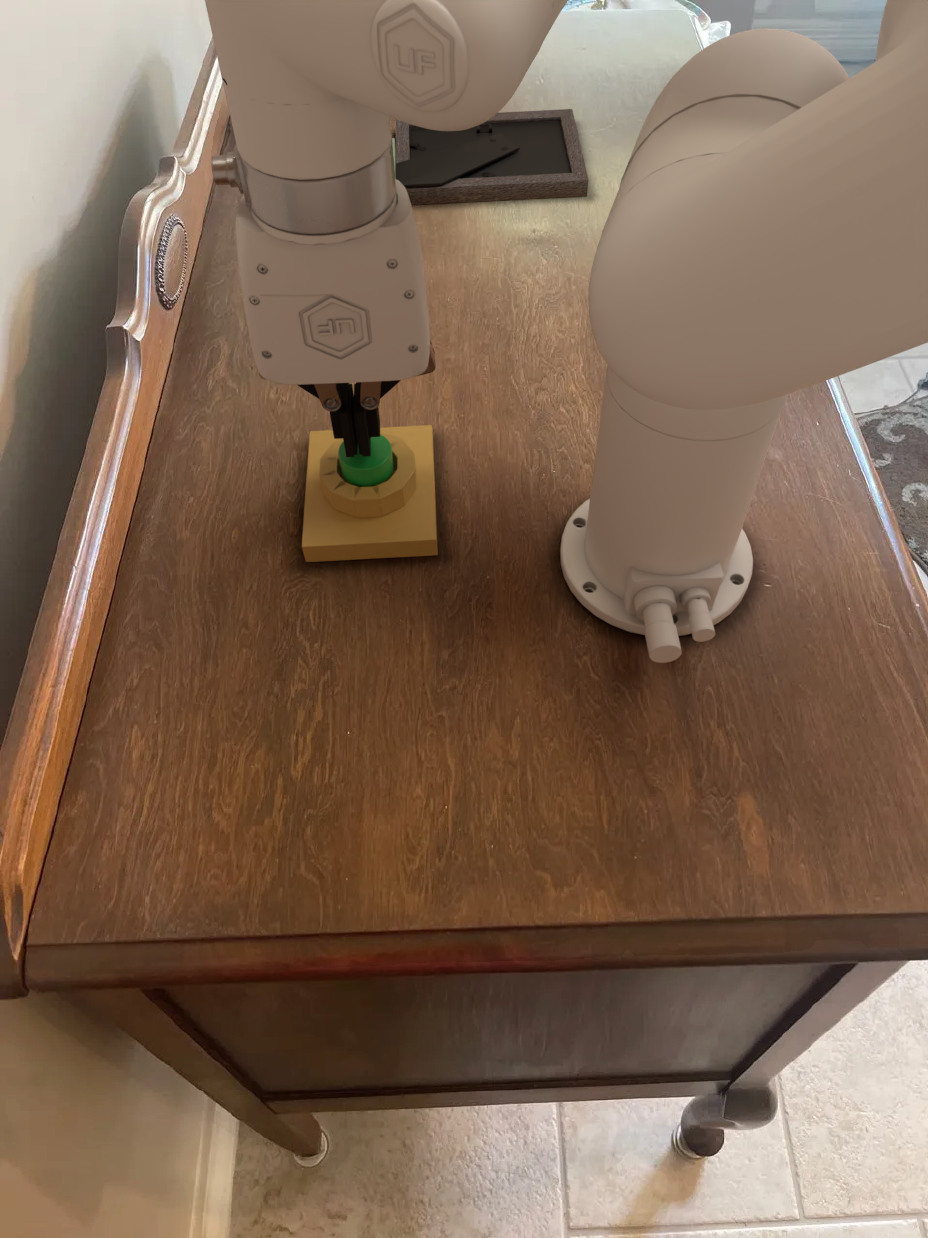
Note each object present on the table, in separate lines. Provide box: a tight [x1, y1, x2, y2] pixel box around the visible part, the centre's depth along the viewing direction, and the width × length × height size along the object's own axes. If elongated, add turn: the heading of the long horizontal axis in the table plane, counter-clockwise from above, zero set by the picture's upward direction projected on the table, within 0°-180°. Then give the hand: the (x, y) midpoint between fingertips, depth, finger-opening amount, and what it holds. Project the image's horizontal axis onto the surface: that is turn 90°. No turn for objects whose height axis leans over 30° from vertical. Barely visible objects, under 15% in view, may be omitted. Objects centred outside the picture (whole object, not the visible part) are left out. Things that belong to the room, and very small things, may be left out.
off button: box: [338, 434, 394, 487], centre depth 62 cm, size 4×4×2 cm
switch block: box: [301, 424, 439, 563], centre depth 64 cm, size 11×9×4 cm
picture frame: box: [395, 108, 589, 206], centre depth 90 cm, size 13×2×18 cm
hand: (359, 441), depth 61 cm, fingers closed
